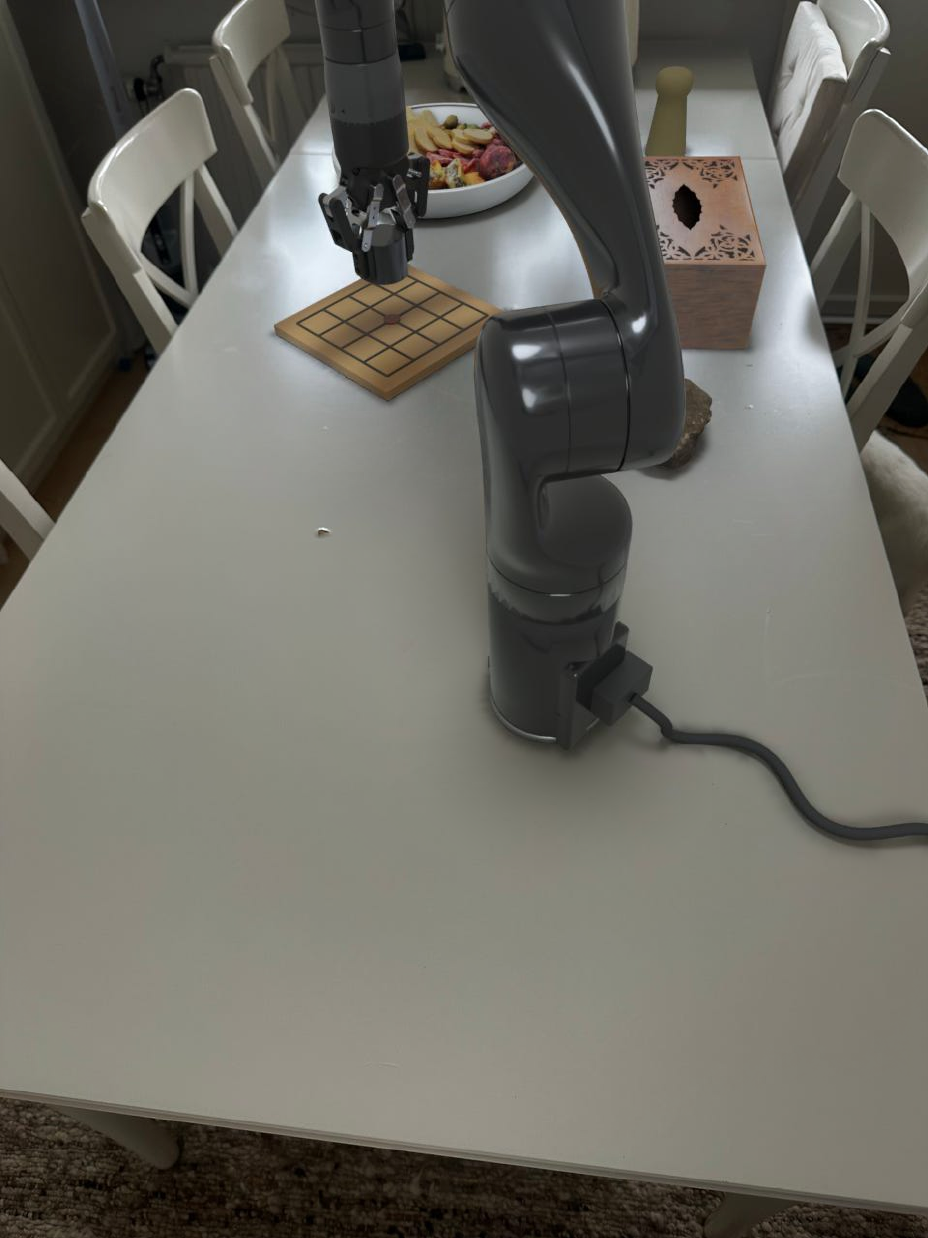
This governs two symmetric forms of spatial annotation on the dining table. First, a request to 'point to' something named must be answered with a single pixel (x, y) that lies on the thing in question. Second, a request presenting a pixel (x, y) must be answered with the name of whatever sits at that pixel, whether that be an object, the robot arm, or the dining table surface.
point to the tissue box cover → (707, 247)
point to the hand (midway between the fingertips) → (386, 268)
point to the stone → (691, 424)
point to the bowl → (461, 159)
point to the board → (389, 330)
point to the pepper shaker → (670, 113)
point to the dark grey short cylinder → (389, 254)
